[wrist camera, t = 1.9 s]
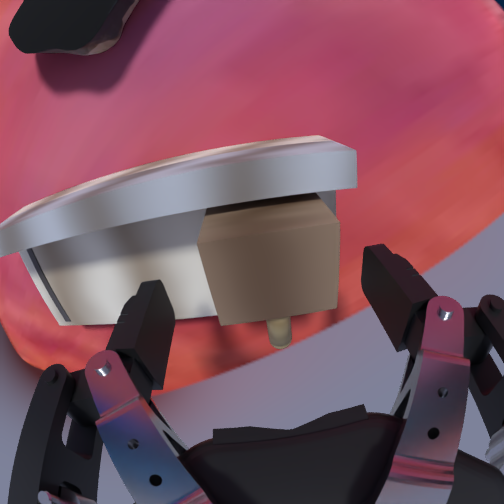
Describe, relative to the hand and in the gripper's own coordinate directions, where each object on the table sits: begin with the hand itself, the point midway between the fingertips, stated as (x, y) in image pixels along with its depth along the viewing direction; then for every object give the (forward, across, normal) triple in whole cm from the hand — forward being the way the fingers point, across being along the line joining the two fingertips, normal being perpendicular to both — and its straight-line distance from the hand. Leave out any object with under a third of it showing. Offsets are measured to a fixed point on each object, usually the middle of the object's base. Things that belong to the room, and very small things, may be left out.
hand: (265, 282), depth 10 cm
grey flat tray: (+8, +6, +1) cm, 10 cm away
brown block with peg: (+5, 0, +2) cm, 5 cm away
